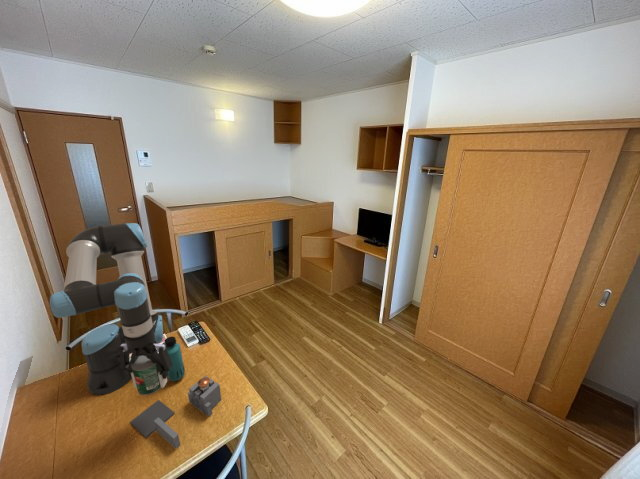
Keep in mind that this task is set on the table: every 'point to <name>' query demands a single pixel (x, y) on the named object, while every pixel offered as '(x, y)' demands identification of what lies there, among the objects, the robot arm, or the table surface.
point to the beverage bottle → (174, 359)
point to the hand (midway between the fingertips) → (151, 384)
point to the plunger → (204, 384)
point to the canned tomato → (146, 376)
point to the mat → (151, 418)
